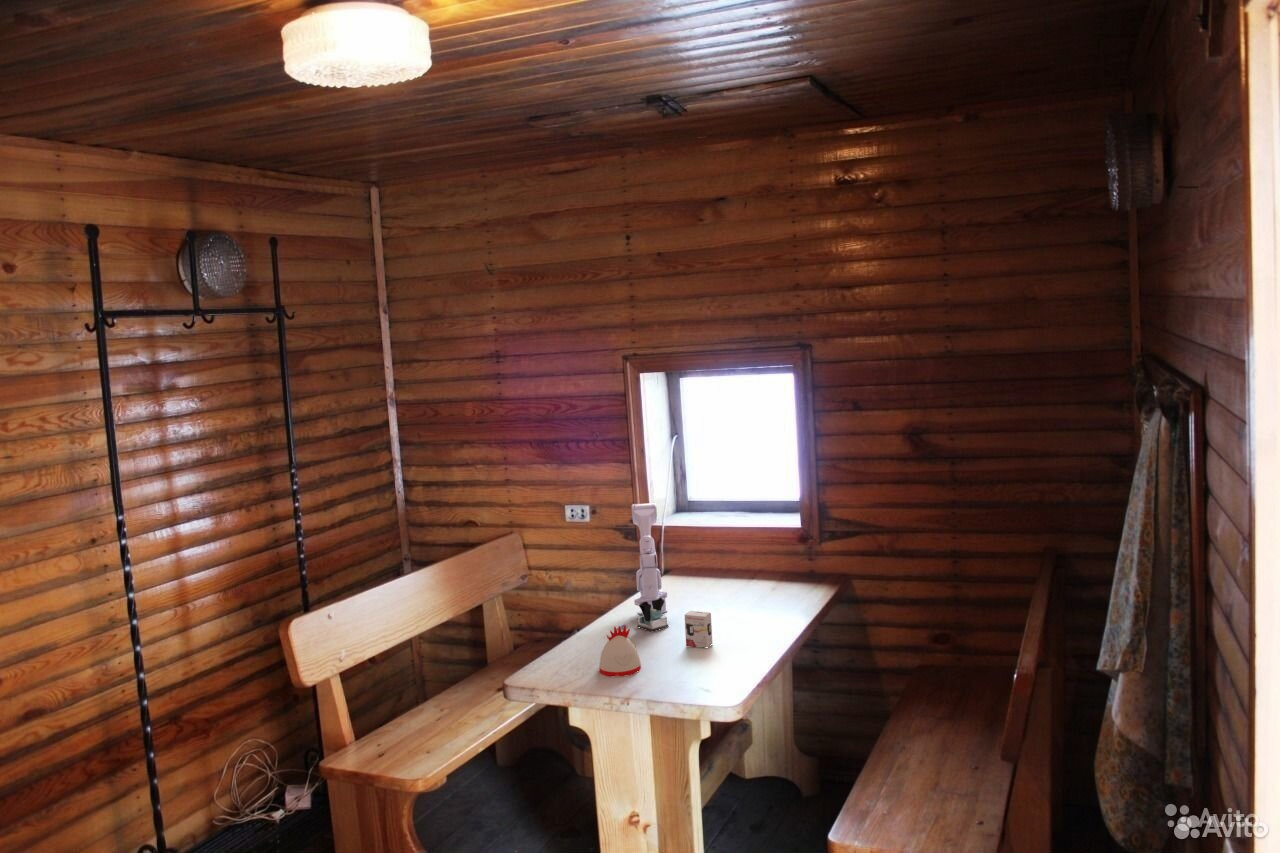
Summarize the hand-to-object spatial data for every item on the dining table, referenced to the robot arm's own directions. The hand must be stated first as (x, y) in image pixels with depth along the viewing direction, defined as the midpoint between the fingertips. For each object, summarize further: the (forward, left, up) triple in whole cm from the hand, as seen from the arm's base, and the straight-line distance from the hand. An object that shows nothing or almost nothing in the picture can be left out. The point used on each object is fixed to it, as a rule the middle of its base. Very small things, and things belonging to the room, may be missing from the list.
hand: (652, 619), depth 387 cm
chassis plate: (0, 0, -3) cm, 3 cm away
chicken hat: (+37, +28, -3) cm, 47 cm away
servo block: (0, 0, -1) cm, 1 cm away
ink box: (+3, +30, -3) cm, 30 cm away
